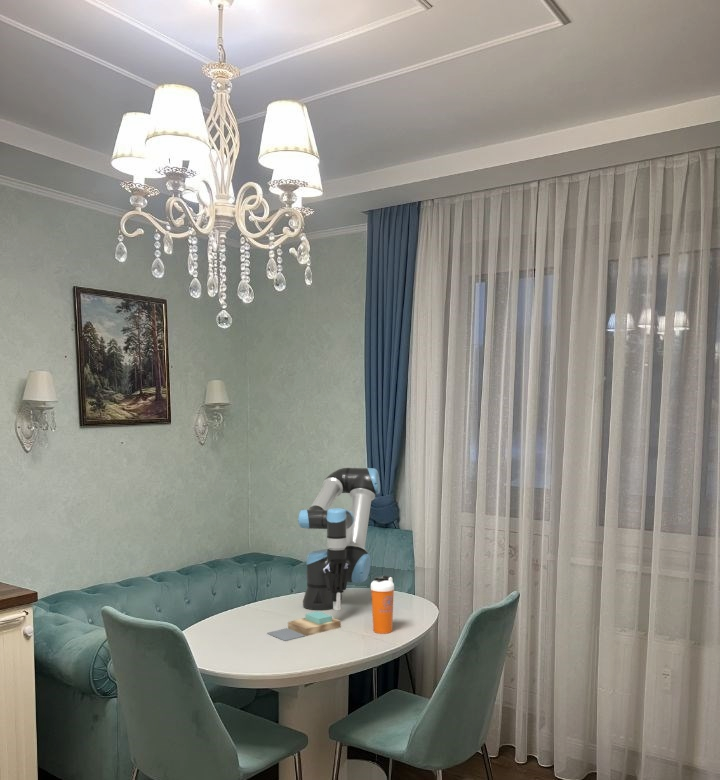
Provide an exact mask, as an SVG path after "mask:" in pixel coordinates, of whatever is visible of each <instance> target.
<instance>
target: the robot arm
mask: <svg viewBox="0 0 720 780" xmlns="http://www.w3.org/2000/svg"><path fill="white" fill-rule="evenodd" d="M380 479H381V478H380V475H379V471H378V470H377V468H374V467H372V468H370V467H342V468H339V469H337V470H335V471H333V472H332V473H330V474H329V475H327V477H326V478H324V481H323V482H322V484H321V490H319V492H318V494H317V496H316V498H315V499H314V500H313V502H312V503H311V505H310V507H309V509H301V510H300V511H299V513H298V517H297V519H298V525H299V527H300V528H302V529H308V530H311V529H312V530H314V529H315V530H320V529H321V530H326V534H327V535H326V547H327V548H325V549H316V550H314V551H310V552H309V553H308V554H307V556H306V564H305V565H306V589H305V593H304V597H303V600H302V606H303V608H305V609H307V610H313V611H326V610H335V611H341V601H342V600H343V599H342V597H343V593H344V591H345V590H347V585H348V583H352V584H356V583H357V584H358V583H365V581H366V580H367V579H368V577H369V575H370V571H371V562H372V560H371V556H370V555H369V554H368V551H367V549H366V541H367V535H368V534H367V533H368V528H369V527H368V526H369V519H370V511H371V507H372V506H371V504H372V501H373V500H375V498H376V495H379V494H380V492H381V481H380ZM341 494H349V496H350V498H352V499H351V503H350V504H351V505H350V510H349V509H345V508H341V507H335V508H332V506H333V504H334V502H335V500H336V498H337V497H339V496H340V495H341Z"/></svg>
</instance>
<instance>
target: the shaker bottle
mask: <svg viewBox="0 0 720 780" xmlns="http://www.w3.org/2000/svg"><path fill="white" fill-rule="evenodd" d="M393 581H394V580H393V577H391V576H388V575H386V574H384V575H382V576H375V577H373V581H371V583H370V591H371V592H370V593H371V610H372V612H371V613H372V631H373V633H376V634H381V635H383V634H385V635H386V634H390V633H392V631H393V617H394V616H393V615H394V590H395V583H394V582H393Z"/></svg>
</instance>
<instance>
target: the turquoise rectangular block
mask: <svg viewBox="0 0 720 780" xmlns="http://www.w3.org/2000/svg"><path fill="white" fill-rule="evenodd" d="M304 616H305V617H304V618H305V619H306V620H309V621H311V622H314V623H317V624H323V623H327V622H331V621H332V618H333V616H332V615H330V614H328V613H324V612H321V611H320V610H315V611H313V612H309V613H305V615H304Z"/></svg>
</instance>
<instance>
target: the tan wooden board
mask: <svg viewBox="0 0 720 780" xmlns="http://www.w3.org/2000/svg"><path fill="white" fill-rule="evenodd" d="M341 622H342V621H341V620H340V619H336V618H333V617H332V621H331V622H327V623H323V624H317V623H314V622H311V621H309V620H306V619H305V617H304V618H299V619H296V620H291V621H288V622H287V628H288V629H291V630H293V631H296V632H298V633H301V634H303V635H305V637H307V636H312V635H315V634H320V633H324V632H327V631H331V630H336V629H339V628H341V626H342V625H341V624H342V623H341Z"/></svg>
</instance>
